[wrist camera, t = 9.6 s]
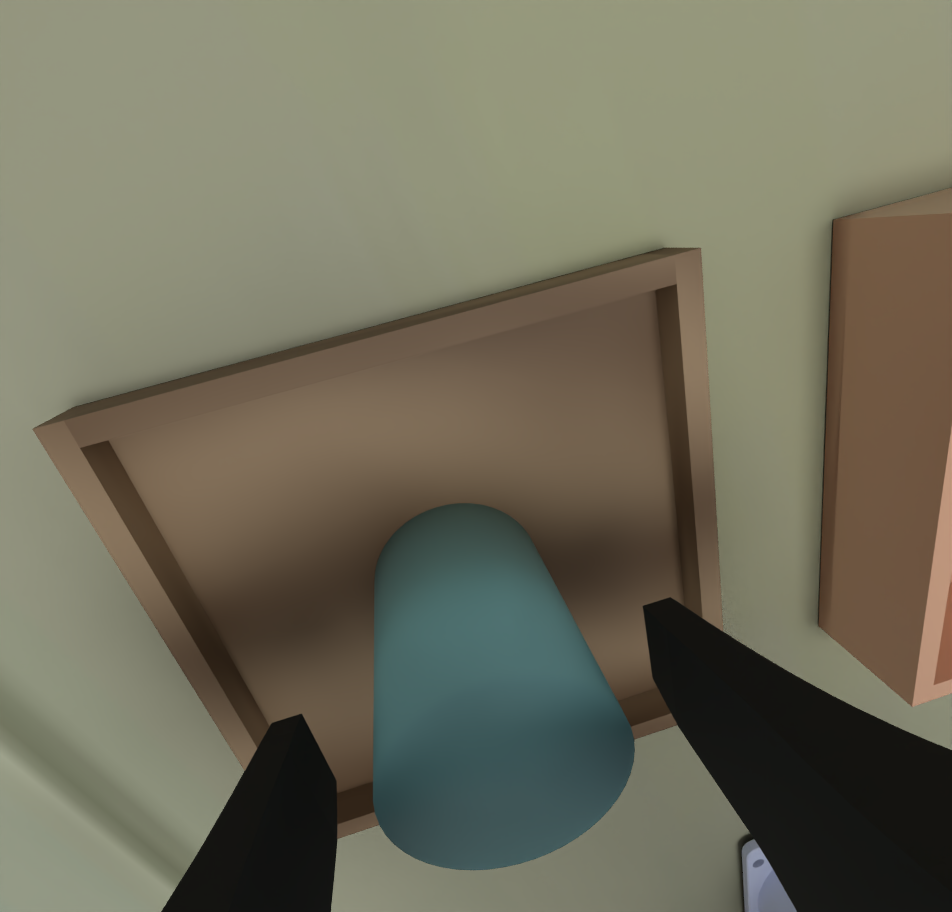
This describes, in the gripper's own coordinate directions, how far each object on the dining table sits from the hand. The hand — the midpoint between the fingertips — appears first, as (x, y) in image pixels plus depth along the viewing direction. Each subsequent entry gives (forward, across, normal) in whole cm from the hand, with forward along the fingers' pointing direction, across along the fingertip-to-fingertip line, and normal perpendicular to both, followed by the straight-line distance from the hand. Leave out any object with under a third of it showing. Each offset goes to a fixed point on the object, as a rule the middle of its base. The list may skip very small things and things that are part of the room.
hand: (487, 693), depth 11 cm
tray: (+4, 0, 0) cm, 5 cm away
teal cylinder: (+4, 0, 0) cm, 4 cm away
